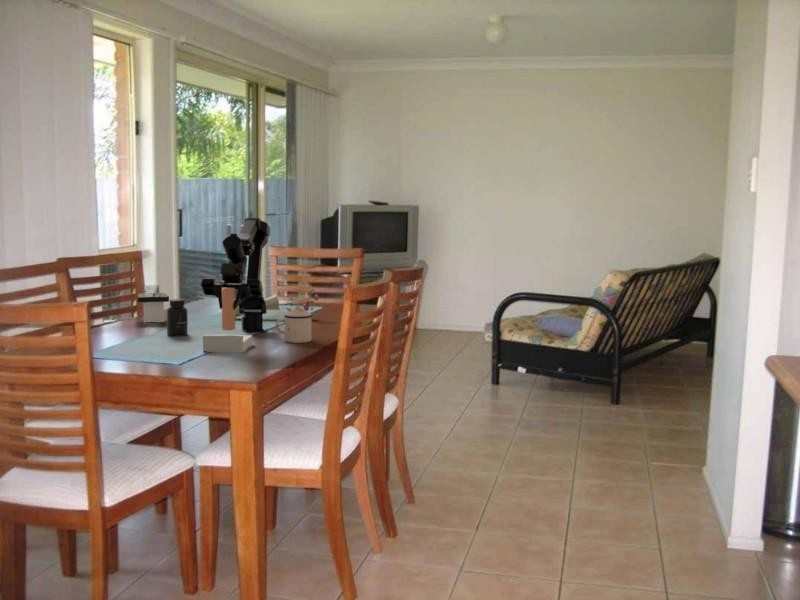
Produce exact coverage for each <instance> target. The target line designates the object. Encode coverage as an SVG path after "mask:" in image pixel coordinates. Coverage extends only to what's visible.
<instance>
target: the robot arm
mask: <svg viewBox="0 0 800 600" xmlns="http://www.w3.org/2000/svg"><path fill="white" fill-rule="evenodd" d="M270 236H271V228H270V226H269V224H268V223H267V222H265V221H263V220H262V219H261V218H259V217H252V216H251V217H249V216H248V217H245V219H244V224H243V225H242V227H241V229H240V231H239V234H238V233H230V235H229V236H226V237H225V238H224V239H223V241H222V246H223V250H224V252H225V256H226V259H227V260H228V262H222V263H221V265H220V274H221V276H222V277H221V279H222V281H223V282H222V281H221V280H220V281H219V280H216V279H215V278H213V277H212V278H210V277H204V278H202V279H201V282H200V287H201V289H202V291H203V294H204V295H205V296H214V297H216V298H217V300H218V305H219V309H220V310H222V288H224V287H233V288H235V291H237V292H236V294H235V302H234V307H233V308H234V309H236V308H237V307H238V306H239V313H240V314H241V313H243V315H242V316H241V330H242V331H244V332H245V331H246V333H248V332H249V333H250V332H265V329H264V328H263V320H264V319H263V315H264V314H265V315H266V314H267V311H268V310H266V303H265V297H264V294H263V293H264V292H263V291H264V289H263V285H262V284H263V283H262V280H261V271H262V270H261V269H262V256H263V248H265V246H266V245H267V244H268V240H269V237H270ZM247 263H248V264H247ZM246 268H247V274H246V283H243V281H244V280H245V272H246ZM260 309H261V310H260Z"/></svg>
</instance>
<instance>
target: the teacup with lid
mask: <svg viewBox="0 0 800 600" xmlns="http://www.w3.org/2000/svg"><path fill="white" fill-rule="evenodd" d="M290 310H291V311H287V312H285V313H284V318H279V319H277V320H276V321H275V329H276V330H277V332H278V333H280V334H283V335H284V336H285V337H284V340H285V341H286V342H287V343H292V344H302V343H309V342H311V341H312V317H313V315H312V313H311V312H309V311H308V310H306V311H305V309H304V308H302V305H295V307H294V308H293V309H290ZM280 322H284V331H283V330H281V329H280V328H279V323H280Z"/></svg>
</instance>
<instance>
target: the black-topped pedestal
mask: <svg viewBox="0 0 800 600" xmlns="http://www.w3.org/2000/svg"><path fill="white" fill-rule="evenodd" d="M164 302H166V303H167V302H169V303H170V295H168V294H167V293H164V292H160V285H156V286H153V285H150V286H147V285H144V292H141V293H138V295H137V303H142V305H143V323H144V324H146V323H145V322H164V323H165V304H164Z"/></svg>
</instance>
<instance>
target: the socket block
mask: <svg viewBox="0 0 800 600" xmlns="http://www.w3.org/2000/svg"><path fill="white" fill-rule="evenodd" d="M252 346H253V335H252V334H251V335H249V334H247V335H246V334H244V335H243V334H203V335H202V351H207V352H206V353H230V354H231V353H236V354H237V353H238V354H242V353H245V351H247V349H249V348H251V347H252Z"/></svg>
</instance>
